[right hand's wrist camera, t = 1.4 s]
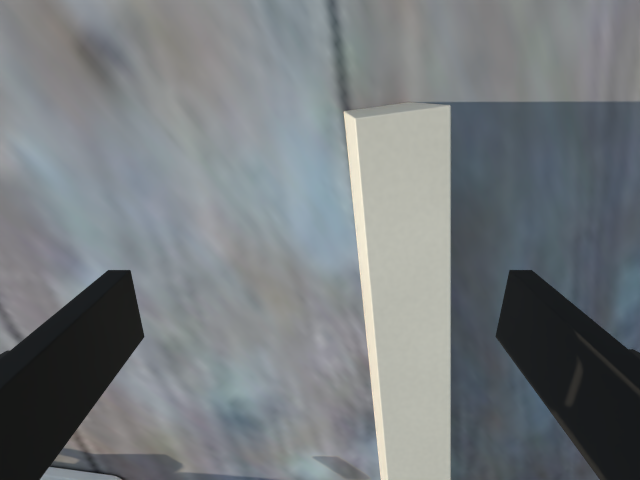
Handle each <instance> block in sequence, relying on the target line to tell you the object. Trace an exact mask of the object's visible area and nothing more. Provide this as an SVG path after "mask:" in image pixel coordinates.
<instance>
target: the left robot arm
mask: <svg viewBox="0 0 640 480" xmlns="http://www.w3.org/2000/svg"><path fill="white" fill-rule="evenodd" d="M40 480H122V479H121V478H119V477H117V476H113V475H106V474H98V473H91V472H84V471H76V470H69V469H62V468H54V467H49V468H48V469H47V471H46V472H45V473H44V475H43V476H42V477H41V479H40Z"/></svg>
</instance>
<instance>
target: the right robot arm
mask: <svg viewBox="0 0 640 480" xmlns="http://www.w3.org/2000/svg"><path fill="white" fill-rule="evenodd" d="M143 338H144V333H143V328H142V323H141V318H140V314H139V309H138V304H137V299H136V295H135V290H134V285H133V280H132V275H131V271H130V270H108V271H107V272H106V273H104V274H103V275H102V276H101V277H99V278H98V279H97V280H96V281H95V282H93V283H92V284H91V285H90V286H88V287H87V288H86V289H85V290H84V291H82V292H81V293H80V294H79V295H78V296H76V297H75V298H74V299H73V300H71V301H70V302H69V303H68V304H67V305H65V306H64V307H63V308H62V309H60V310H59V311H58V312H57V313H56V314H54V315H53V316H52V317H51V318H50V319H48V320H47V321H46V322H45V323H43V324H42V325H41V326H40V327H39V328H37V329H36V330H35V331H34V332H32V333H31V334H30V335H29V336H28V337H26V338H25V339H24V340H23V341H22V342H20V343H19V344H18V345H17V346H15V347H14V348H13V349H12V350H11V351H6V352H4V353H2V354H0V480H40V479H41V477H42V476H43V475H44V473H45V472H46V471H47V469H48V468H49V467H50V465H51V464H52V462H53V461H54V460H55V458H56V457H57V456H58V454H59V453H60V451H61V450H62V449H63V447H64V446H65V445H66V443H67V442H68V440H69V439H70V438H71V436H72V435H73V434H74V432H75V431H76V430H77V428H78V427H79V425H80V424H81V423H82V421H83V420H84V419H85V417H86V416H87V414H88V413H89V412H90V410H91V409H92V408H93V406H94V405H95V404H96V402H97V401H98V399H99V398H100V397H101V395H102V394H103V393H104V391H105V390H106V388H107V387H108V386H109V384H110V383H111V382H112V380H113V379H114V378H115V376H116V375H117V373H118V372H119V371H120V369H121V368H122V367H123V365H124V364H125V362H126V361H127V360H128V358H129V357H130V356H131V354H132V353H133V352H134V350H135V349H136V347H137V346H138V345H139V343H140V342H141V341H142V339H143ZM496 338H497V339H498V341H499V342H500V343H501V345H502V346H503V347H504V349H505V350H506V352H507V353H508V354H509V356H510V357H511V358H512V360H513V361H514V362H515V364H516V365H517V367H518V368H519V369H520V371H521V372H522V373H523V375H524V376H525V378H526V379H527V380H528V382H529V383H530V384H531V386H532V387H533V388H534V390H535V391H536V393H537V394H538V395H539V397H540V398H541V399H542V401H543V402H544V404H545V405H546V406H547V408H548V409H549V410H550V412H551V413H552V414H553V416H554V417H555V419H556V420H557V421H558V423H559V424H560V425H561V427H562V428H563V430H564V431H565V432H566V434H567V435H568V436H569V438H570V439H571V440H572V442H573V443H574V445H575V446H576V447H577V449H578V450H579V451H580V453H581V454H582V456H583V457H584V458H585V460H586V461H587V462H588V464H589V465H590V467H591V468H592V469H593V471H594V472H595V473H596V475H597V476H598V477H599V479H600V480H640V353H639V352H637V351H635V350H633V349H627V348H626V347H625V346H623V345H622V344H621V343H620V342H618V341H617V340H616V339H615V338H614V337H612V336H611V335H610V334H609V333H608V332H606V331H605V330H604V329H603V328H601V327H600V326H599V325H598V324H597V323H595V322H594V321H593V320H592V319H590V318H589V317H588V316H587V315H586V314H584V313H583V312H582V311H581V310H580V309H578V308H577V307H576V306H575V305H573V304H572V303H571V302H570V301H569V300H567V299H566V298H565V297H564V296H562V295H561V294H560V293H559V292H558V291H556V290H555V289H554V288H553V287H552V286H550V285H549V284H548V283H547V282H545V281H544V280H543V279H542V278H541V277H539V276H538V275H537V274H536V273H534V272H533V271H532V270H510V271H509V275H508V280H507V285H506V290H505V295H504V299H503V304H502V309H501V314H500V318H499V323H498V328H497V333H496Z"/></svg>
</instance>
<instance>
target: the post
mask: <svg viewBox="0 0 640 480" xmlns="http://www.w3.org/2000/svg"><path fill="white" fill-rule="evenodd" d="M344 118H345V127H346V137H347V147H348V157H349V167H350V177H351V187H352V197H353V207H354V217H355V227H356V237H357V247H358V256H359V266H360V276H361V286H362V296H363V306H364V316H365V326H366V336H367V346H368V356H369V366H370V376H371V386H372V395H373V405H374V415H375V425H376V435H377V445H378V455H379V465H380V475H381V480H451V106H450V105H440V104H427V103H415V102H407V103H400V104H393V105H385V106H378V107H371V108H364V109H356V110H349V111H344Z"/></svg>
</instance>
